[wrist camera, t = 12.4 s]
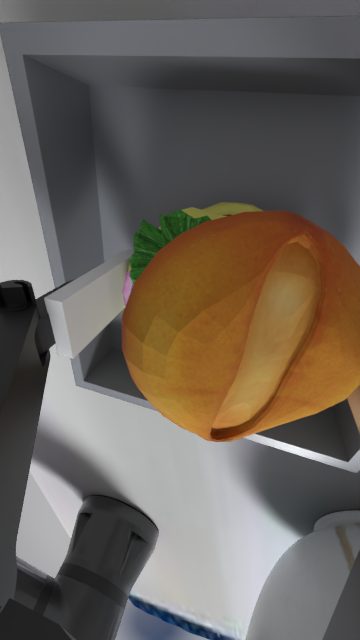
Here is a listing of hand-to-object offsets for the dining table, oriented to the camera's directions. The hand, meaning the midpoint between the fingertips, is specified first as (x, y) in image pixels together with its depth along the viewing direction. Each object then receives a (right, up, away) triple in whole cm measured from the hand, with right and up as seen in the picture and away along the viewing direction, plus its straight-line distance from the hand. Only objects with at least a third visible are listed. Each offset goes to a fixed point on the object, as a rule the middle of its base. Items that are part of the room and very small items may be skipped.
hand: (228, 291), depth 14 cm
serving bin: (+1, +2, +2) cm, 3 cm away
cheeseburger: (0, +1, +1) cm, 1 cm away
